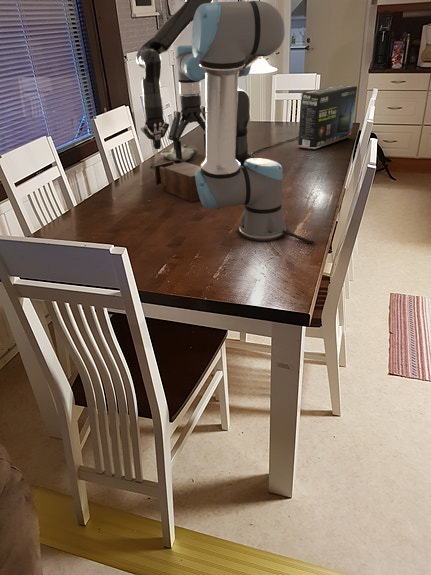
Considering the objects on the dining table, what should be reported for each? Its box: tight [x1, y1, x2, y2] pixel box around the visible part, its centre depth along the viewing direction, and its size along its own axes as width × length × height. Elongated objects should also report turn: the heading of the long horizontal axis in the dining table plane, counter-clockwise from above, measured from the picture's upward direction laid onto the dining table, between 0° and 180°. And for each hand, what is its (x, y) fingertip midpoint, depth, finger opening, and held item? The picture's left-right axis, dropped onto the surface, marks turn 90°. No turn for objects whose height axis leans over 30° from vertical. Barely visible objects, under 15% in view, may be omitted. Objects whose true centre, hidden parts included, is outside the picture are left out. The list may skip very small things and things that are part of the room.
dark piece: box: [149, 160, 176, 186], centre depth 190 cm, size 22×9×8 cm, turn 40°
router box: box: [297, 84, 358, 151], centre depth 238 cm, size 36×11×27 cm, turn 134°
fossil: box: [160, 142, 199, 163], centre depth 229 cm, size 18×11×15 cm
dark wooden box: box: [164, 161, 201, 203], centre depth 182 cm, size 18×10×10 cm, turn 40°
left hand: (157, 148), depth 191 cm, fingers closed
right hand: (193, 155), depth 173 cm, fingers open, 13 cm apart
